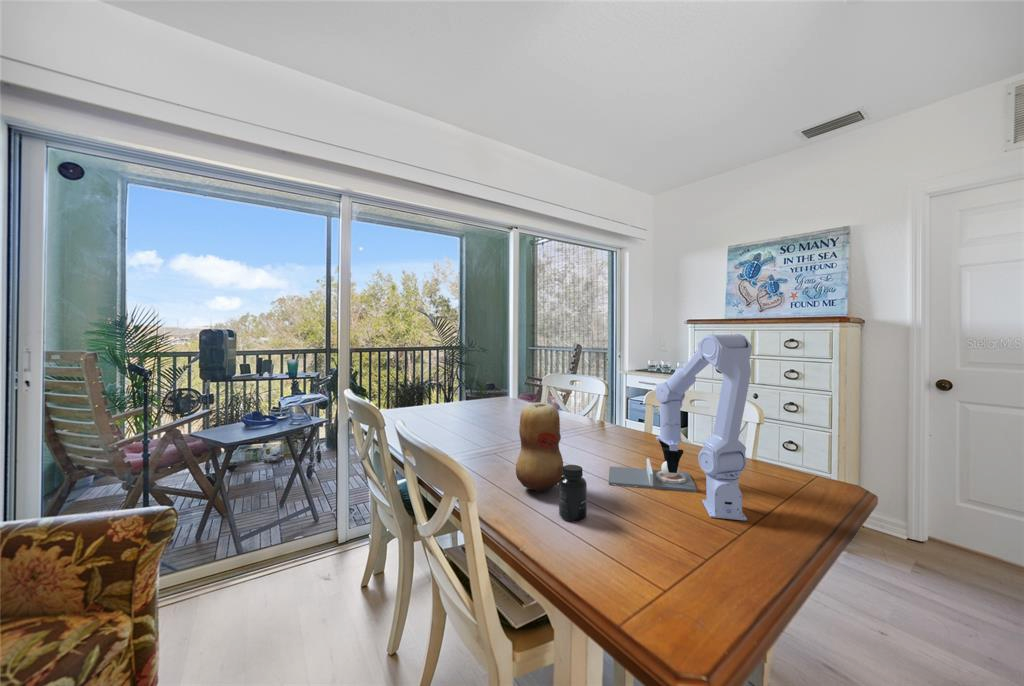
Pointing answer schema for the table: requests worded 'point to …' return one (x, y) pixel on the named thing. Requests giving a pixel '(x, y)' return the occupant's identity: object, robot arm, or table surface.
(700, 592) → the table surface
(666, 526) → the table surface
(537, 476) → the butternut squash
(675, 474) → the ball
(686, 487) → the board
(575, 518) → the supplement bottle
